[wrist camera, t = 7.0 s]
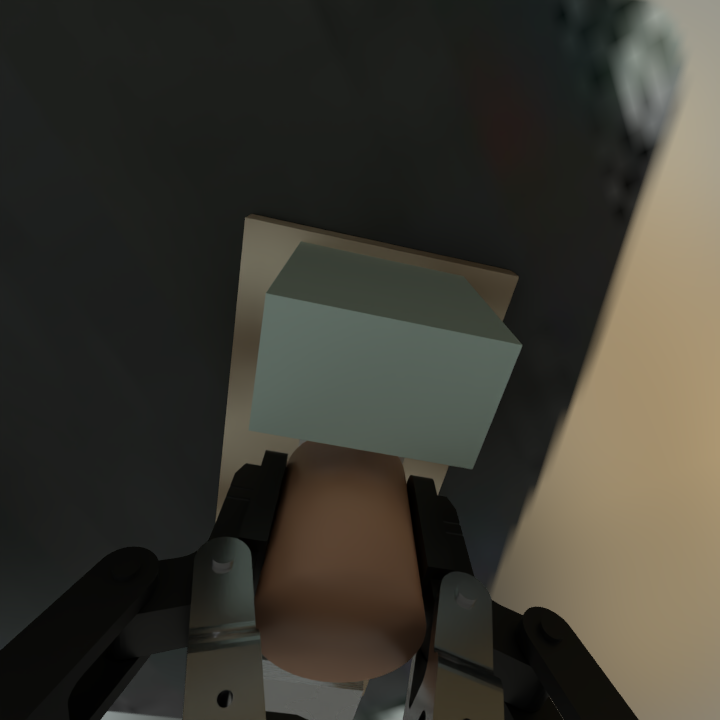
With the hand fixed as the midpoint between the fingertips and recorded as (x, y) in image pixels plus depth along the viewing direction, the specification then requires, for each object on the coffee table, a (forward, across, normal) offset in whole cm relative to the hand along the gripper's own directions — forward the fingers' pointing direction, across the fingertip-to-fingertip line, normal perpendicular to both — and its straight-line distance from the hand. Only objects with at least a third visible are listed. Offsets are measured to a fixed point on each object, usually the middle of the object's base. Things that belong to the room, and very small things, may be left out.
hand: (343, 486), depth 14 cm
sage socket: (+5, 0, -5) cm, 7 cm away
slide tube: (+4, 0, +3) cm, 5 cm away
